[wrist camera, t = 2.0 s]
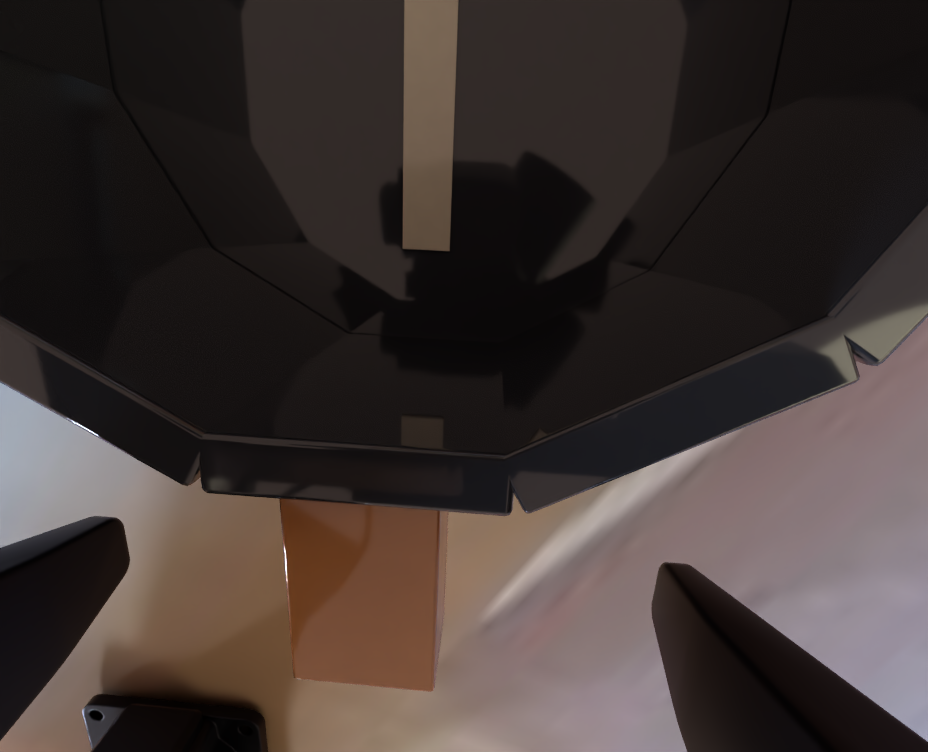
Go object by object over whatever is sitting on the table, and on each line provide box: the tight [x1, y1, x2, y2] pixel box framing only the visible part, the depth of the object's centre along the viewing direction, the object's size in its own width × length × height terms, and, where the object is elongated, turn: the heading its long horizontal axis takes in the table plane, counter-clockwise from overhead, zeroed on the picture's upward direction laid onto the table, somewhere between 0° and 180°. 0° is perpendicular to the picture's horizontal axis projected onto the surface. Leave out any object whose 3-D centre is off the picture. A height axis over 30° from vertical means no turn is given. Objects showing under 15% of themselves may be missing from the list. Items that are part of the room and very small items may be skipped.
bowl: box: [0, 0, 928, 692], centre depth 7 cm, size 17×14×6 cm
